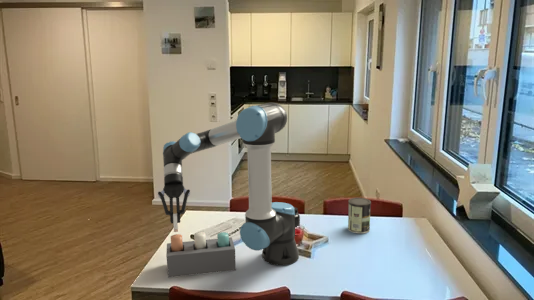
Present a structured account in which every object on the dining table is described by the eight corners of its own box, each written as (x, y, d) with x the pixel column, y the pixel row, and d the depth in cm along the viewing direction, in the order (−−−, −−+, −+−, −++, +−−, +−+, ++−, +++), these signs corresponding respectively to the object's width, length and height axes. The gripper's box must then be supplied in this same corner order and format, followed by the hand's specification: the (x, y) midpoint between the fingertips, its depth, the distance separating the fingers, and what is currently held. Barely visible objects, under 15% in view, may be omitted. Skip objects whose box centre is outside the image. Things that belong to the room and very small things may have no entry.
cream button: (205, 245, 179) (205, 231, 178) (206, 250, 175) (205, 236, 174) (194, 246, 179) (193, 232, 177) (195, 251, 174) (194, 237, 173)
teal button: (228, 245, 181) (227, 231, 180) (229, 250, 177) (229, 236, 176) (217, 246, 181) (216, 232, 179) (218, 251, 176) (217, 237, 175)
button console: (232, 257, 186) (231, 237, 184) (235, 270, 176) (235, 249, 174) (168, 264, 182) (166, 243, 179) (167, 277, 171) (166, 255, 169)
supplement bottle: (298, 236, 206) (298, 211, 203) (284, 235, 207) (283, 210, 204) (300, 230, 212) (300, 206, 209) (286, 229, 213) (286, 205, 211)
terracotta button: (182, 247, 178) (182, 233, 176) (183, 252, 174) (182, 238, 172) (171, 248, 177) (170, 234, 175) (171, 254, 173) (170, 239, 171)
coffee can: (367, 224, 217) (368, 197, 214) (371, 233, 207) (373, 204, 204) (346, 224, 218) (346, 197, 214) (349, 233, 208) (350, 205, 204)
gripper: (189, 179, 190) (192, 232, 178) (157, 182, 188) (159, 235, 176) (189, 171, 184) (192, 225, 172) (156, 173, 181) (157, 228, 169)
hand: (175, 230), depth 174 cm, fingers closed
